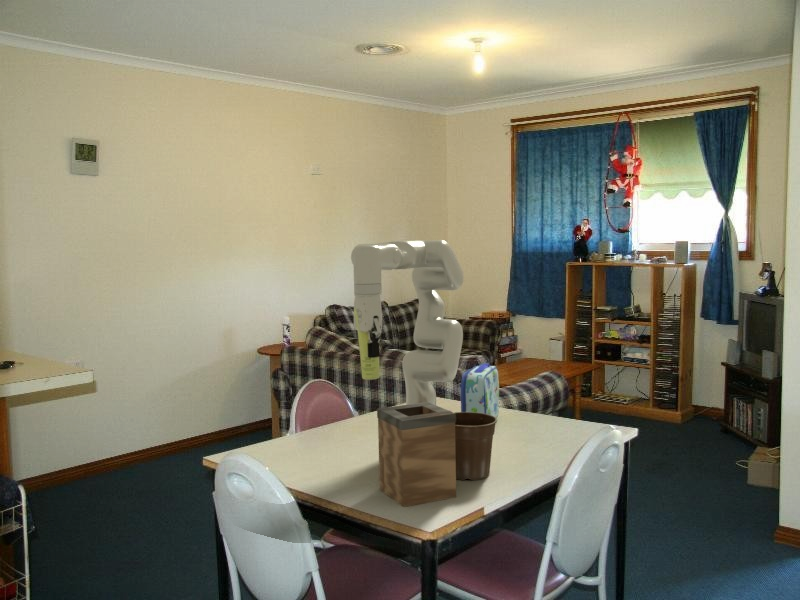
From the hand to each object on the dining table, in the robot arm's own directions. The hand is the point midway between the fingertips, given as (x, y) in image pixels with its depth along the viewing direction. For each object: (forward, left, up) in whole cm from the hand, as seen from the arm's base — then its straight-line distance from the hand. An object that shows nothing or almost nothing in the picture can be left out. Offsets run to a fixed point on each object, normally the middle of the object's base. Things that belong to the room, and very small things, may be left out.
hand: (369, 355), depth 204 cm
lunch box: (-38, +59, -35) cm, 78 cm away
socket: (+16, +6, -35) cm, 39 cm away
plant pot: (+9, +26, -35) cm, 45 cm away
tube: (0, 0, -7) cm, 7 cm away
